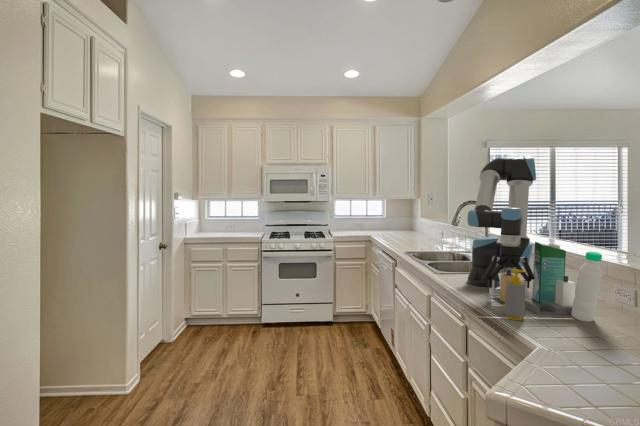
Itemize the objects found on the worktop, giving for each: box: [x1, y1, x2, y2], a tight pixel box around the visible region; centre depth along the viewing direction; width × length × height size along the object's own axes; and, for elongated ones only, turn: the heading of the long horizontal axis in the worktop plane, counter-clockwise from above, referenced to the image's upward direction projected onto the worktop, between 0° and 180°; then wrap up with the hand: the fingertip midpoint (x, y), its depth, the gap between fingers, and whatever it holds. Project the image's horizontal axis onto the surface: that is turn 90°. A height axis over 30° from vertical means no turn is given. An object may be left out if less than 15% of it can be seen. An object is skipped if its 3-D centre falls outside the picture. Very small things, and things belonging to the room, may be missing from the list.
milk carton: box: [532, 241, 567, 304], centre depth 162 cm, size 9×9×25 cm
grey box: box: [525, 275, 576, 315], centre depth 149 cm, size 9×21×14 cm, turn 90°
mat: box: [491, 297, 505, 306], centre depth 161 cm, size 10×10×1 cm
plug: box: [499, 269, 515, 302], centre depth 161 cm, size 4×4×13 cm
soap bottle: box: [503, 268, 527, 321], centre depth 141 cm, size 7×7×18 cm
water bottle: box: [570, 251, 604, 323], centre depth 139 cm, size 7×7×25 cm
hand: (507, 295), depth 161 cm, fingers open, 13 cm apart
